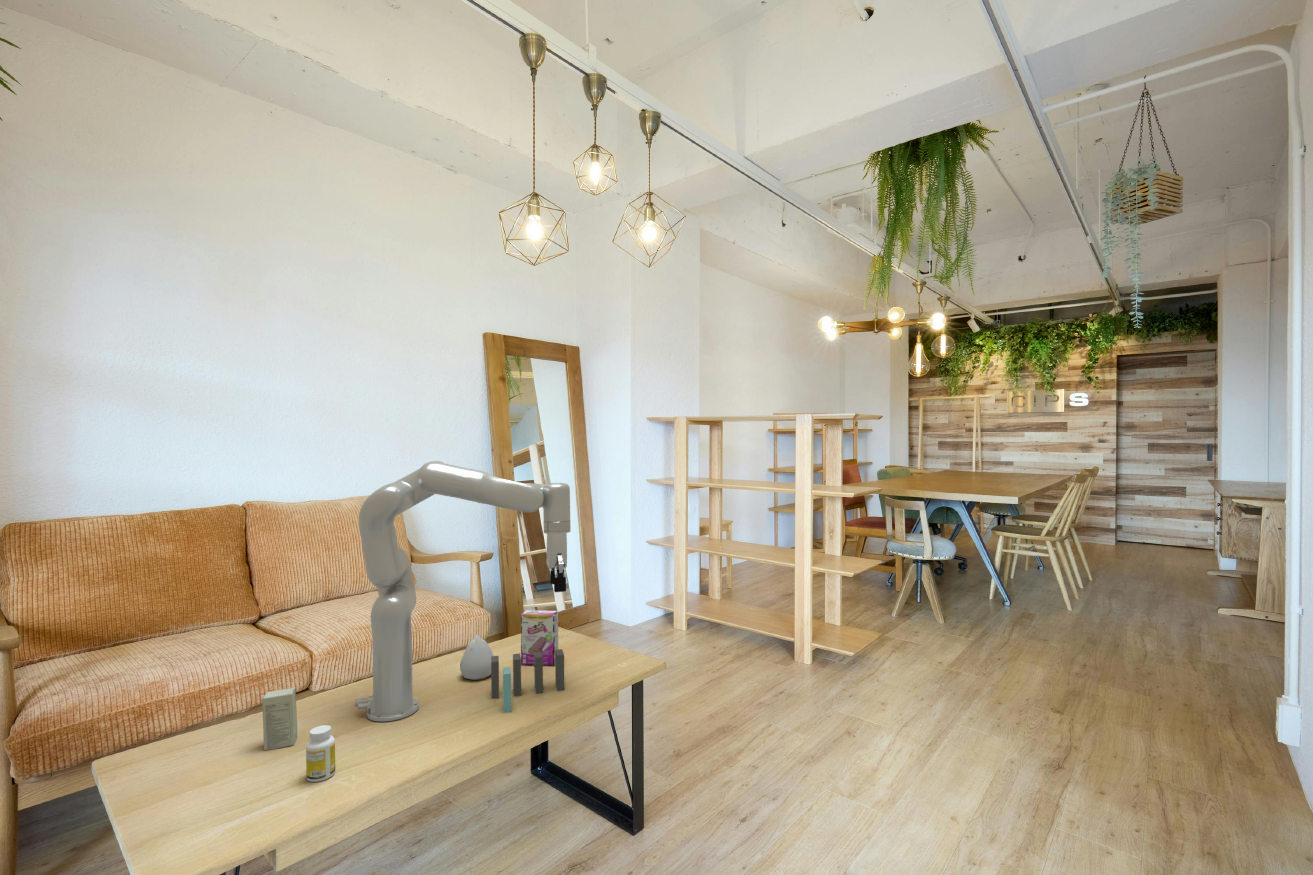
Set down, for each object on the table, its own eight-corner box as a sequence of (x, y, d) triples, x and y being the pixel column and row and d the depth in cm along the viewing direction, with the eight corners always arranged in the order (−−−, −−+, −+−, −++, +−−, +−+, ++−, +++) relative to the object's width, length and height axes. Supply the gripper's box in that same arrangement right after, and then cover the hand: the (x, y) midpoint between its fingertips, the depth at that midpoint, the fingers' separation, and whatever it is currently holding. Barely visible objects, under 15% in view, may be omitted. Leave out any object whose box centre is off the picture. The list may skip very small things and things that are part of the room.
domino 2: (503, 712, 156) (503, 674, 156) (503, 704, 161) (502, 667, 161) (511, 711, 157) (511, 673, 157) (510, 703, 162) (510, 666, 162)
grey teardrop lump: (456, 673, 184) (456, 634, 184) (491, 667, 189) (490, 629, 189) (463, 685, 175) (462, 644, 175) (499, 678, 180) (498, 638, 180)
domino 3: (513, 696, 167) (513, 659, 167) (513, 689, 172) (512, 654, 172) (521, 695, 167) (520, 659, 167) (520, 688, 172) (520, 653, 172)
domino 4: (535, 693, 168) (535, 657, 168) (534, 686, 173) (534, 651, 173) (543, 692, 169) (542, 656, 169) (541, 685, 174) (541, 651, 174)
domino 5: (557, 690, 170) (557, 655, 170) (555, 684, 175) (555, 649, 175) (564, 689, 170) (564, 654, 171) (562, 683, 175) (562, 648, 175)
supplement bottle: (327, 766, 131) (327, 721, 131) (340, 773, 128) (340, 727, 128) (301, 777, 127) (301, 730, 127) (314, 785, 124) (313, 737, 124)
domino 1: (491, 698, 165) (491, 662, 165) (491, 691, 170) (491, 656, 170) (499, 697, 166) (498, 661, 166) (498, 690, 170) (498, 655, 171)
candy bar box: (520, 665, 190) (519, 613, 190) (525, 660, 195) (524, 609, 195) (555, 666, 189) (554, 614, 189) (559, 660, 194) (558, 609, 194)
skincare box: (297, 737, 144) (297, 686, 145) (294, 745, 140) (293, 693, 141) (266, 742, 142) (266, 690, 142) (262, 751, 138) (261, 697, 138)
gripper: (540, 523, 177) (541, 582, 176) (546, 531, 160) (547, 596, 160) (566, 522, 179) (567, 580, 179) (574, 530, 162) (575, 593, 162)
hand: (558, 587), depth 169 cm, fingers open, 9 cm apart
